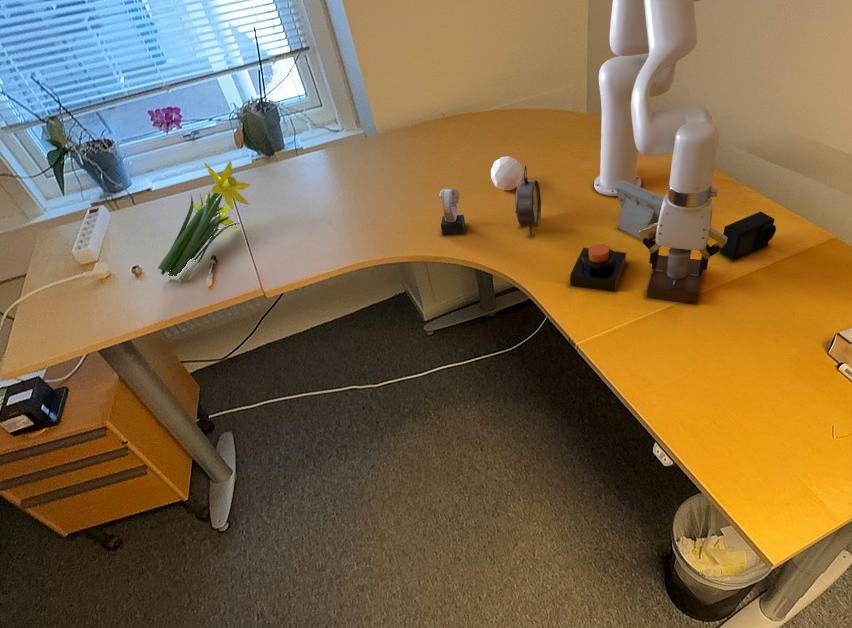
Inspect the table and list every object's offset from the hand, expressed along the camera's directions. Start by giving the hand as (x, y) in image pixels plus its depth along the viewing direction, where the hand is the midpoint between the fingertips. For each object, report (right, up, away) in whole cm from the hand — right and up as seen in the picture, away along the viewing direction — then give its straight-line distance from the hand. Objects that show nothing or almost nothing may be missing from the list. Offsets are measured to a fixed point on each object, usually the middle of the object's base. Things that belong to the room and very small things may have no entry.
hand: (677, 268), depth 122 cm
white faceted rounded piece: (-35, +33, +41) cm, 63 cm away
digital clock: (-2, +14, +19) cm, 24 cm away
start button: (-16, +4, +5) cm, 17 cm away
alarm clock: (-30, +16, +25) cm, 42 cm away
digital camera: (+18, +6, +9) cm, 21 cm away
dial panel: (0, -3, +3) cm, 4 cm away
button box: (-15, +1, +8) cm, 17 cm away
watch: (-50, +16, +28) cm, 59 cm away
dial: (0, -1, +1) cm, 1 cm away
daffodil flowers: (-115, +12, +33) cm, 120 cm away
